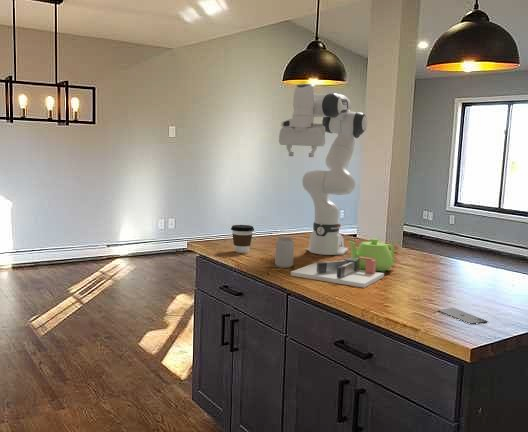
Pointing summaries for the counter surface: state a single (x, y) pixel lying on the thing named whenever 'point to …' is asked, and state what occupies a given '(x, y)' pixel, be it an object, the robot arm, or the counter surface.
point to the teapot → (374, 254)
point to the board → (351, 279)
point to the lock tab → (369, 264)
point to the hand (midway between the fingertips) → (300, 156)
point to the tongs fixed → (348, 267)
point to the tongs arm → (329, 266)
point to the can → (284, 252)
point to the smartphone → (462, 316)
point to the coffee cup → (242, 237)
